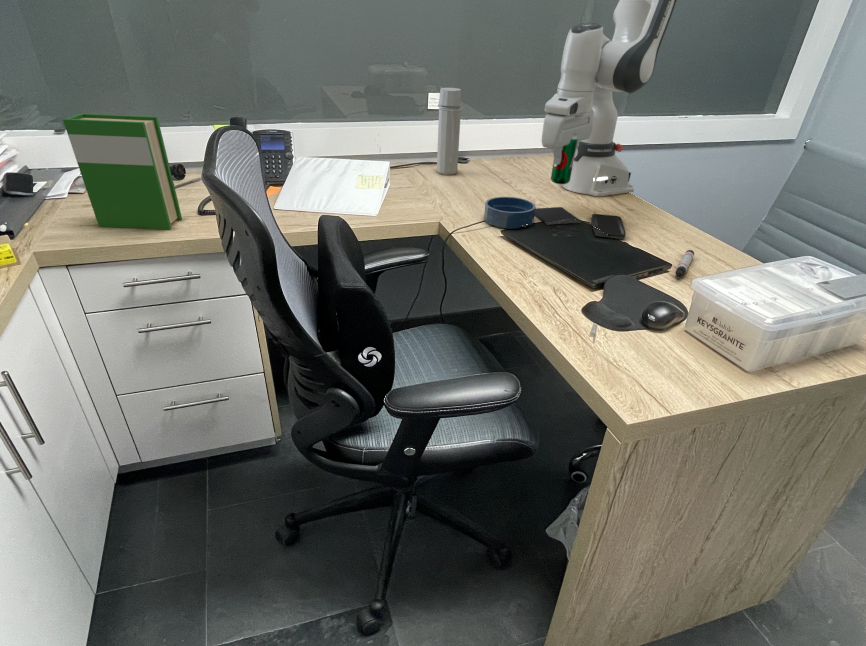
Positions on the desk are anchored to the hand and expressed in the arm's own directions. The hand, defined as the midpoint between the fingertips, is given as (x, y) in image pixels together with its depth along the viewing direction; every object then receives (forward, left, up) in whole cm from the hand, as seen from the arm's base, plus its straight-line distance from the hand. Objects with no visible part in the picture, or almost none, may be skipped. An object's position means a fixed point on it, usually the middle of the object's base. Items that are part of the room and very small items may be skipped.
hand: (563, 161), depth 140 cm
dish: (+14, +1, -15) cm, 20 cm away
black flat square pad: (0, 0, -15) cm, 15 cm away
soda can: (0, 0, -5) cm, 5 cm away
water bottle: (+17, -47, -15) cm, 52 cm away
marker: (-14, +38, -15) cm, 43 cm away
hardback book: (+107, -14, -15) cm, 109 cm away
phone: (-10, +11, -15) cm, 21 cm away
